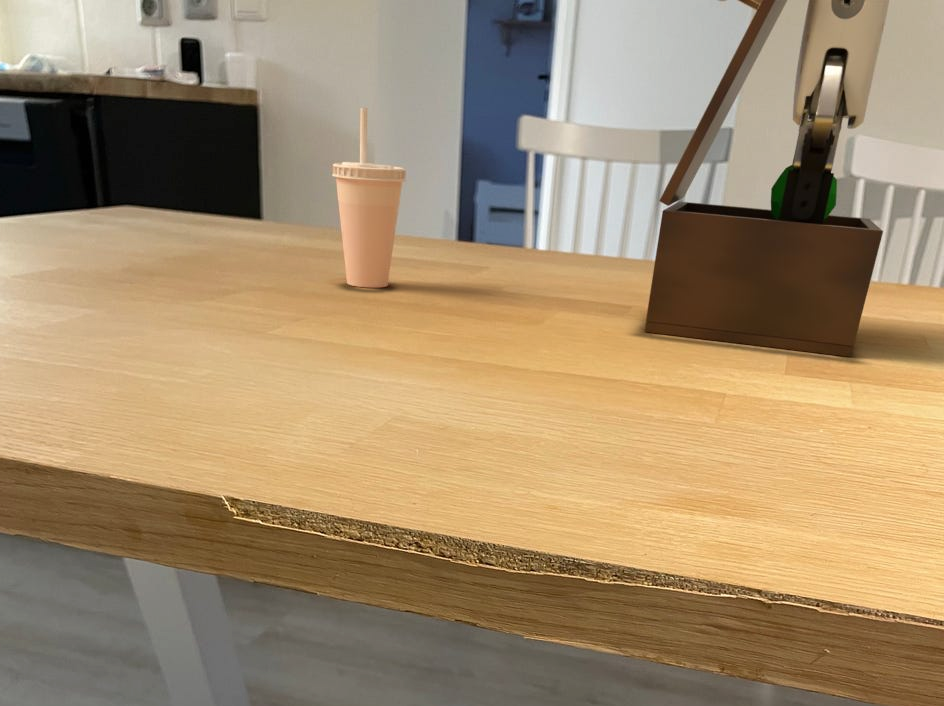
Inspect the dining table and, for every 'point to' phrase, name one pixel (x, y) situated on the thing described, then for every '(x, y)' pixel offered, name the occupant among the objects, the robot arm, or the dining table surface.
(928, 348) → the dining table surface
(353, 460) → the dining table surface
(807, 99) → the robot arm
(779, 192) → the polyhedron
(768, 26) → the lid
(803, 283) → the chest
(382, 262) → the smoothie
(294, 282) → the dining table surface
